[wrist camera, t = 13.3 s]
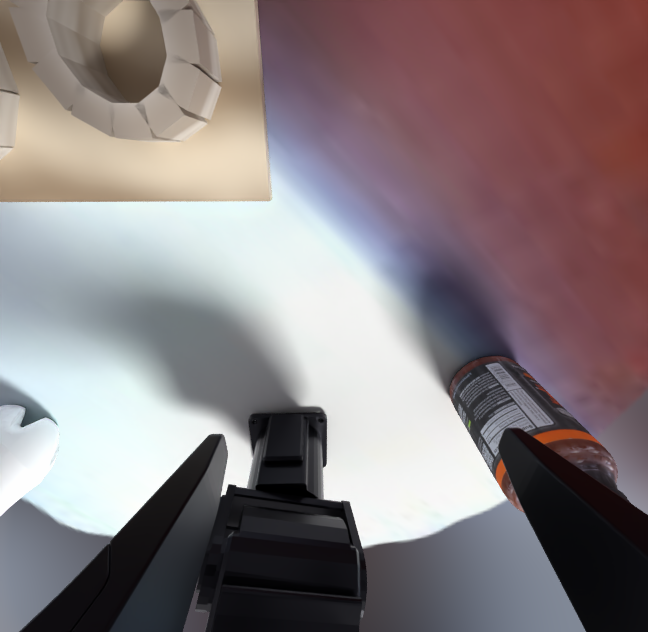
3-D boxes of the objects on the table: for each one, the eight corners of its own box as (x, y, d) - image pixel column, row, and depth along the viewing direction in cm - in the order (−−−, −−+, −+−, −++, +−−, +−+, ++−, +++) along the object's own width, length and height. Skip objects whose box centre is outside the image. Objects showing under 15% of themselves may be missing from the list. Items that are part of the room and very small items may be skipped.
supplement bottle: (532, 384, 24) (685, 539, 14) (468, 419, 26) (564, 580, 16) (500, 338, 22) (653, 482, 12) (432, 380, 24) (517, 537, 14)
